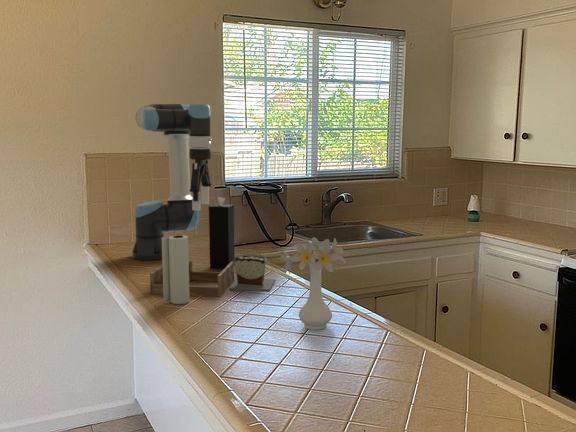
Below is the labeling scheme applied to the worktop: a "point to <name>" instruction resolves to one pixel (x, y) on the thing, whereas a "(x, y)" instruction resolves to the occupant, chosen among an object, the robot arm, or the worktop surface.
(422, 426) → the worktop surface
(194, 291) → the rack
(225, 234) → the black bar
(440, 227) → the worktop surface
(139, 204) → the robot arm
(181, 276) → the paper towel roll
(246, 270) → the food container
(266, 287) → the mat
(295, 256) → the flower vase
